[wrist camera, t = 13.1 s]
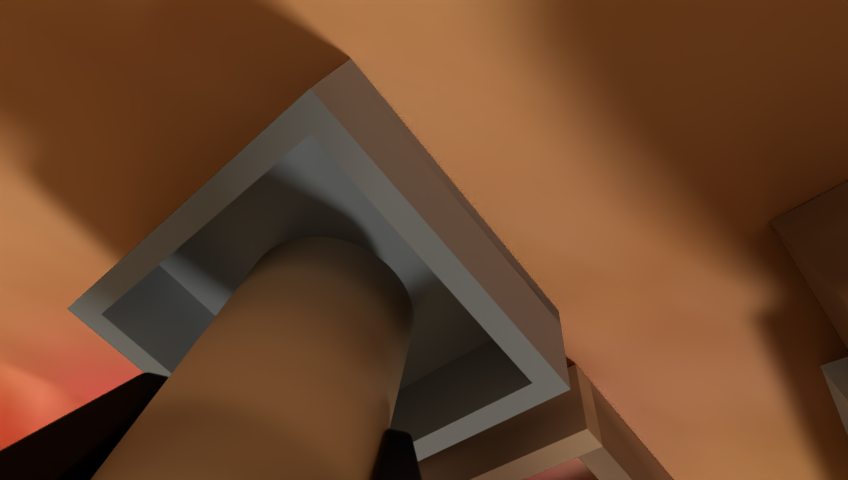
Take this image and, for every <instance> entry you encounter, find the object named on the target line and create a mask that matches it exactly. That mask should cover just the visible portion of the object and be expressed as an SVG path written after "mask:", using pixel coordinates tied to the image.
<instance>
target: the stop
mask: <svg viewBox="0 0 848 480" xmlns="http://www.w3.org/2000/svg"><path fill="white" fill-rule="evenodd" d="M770 224H771V226H772V227H773V229H774V230H775V232H776V234H777V235H778V237H779V239H780V240H781V242H782V244H783V245H784V247H785V248H786V250H787V252H788V253H789V255H790V257H791V258H792V260H793V261H794V263H795V265H796V266H797V268H798V270H799V271H800V273H801V275H802V276H803V278H804V279H805V281H806V283H807V284H808V286H809V288H810V289H811V291H812V292H813V294H814V296H815V297H816V299H817V301H818V302H819V304H820V306H821V307H822V309H823V310H824V312H825V314H826V315H827V317H828V319H829V320H830V322H831V324H832V325H833V327H834V328H835V330H836V332H837V333H838V335H839V337H840V338H841V340H842V341H843V343H844V345H845V346H846V348H847V350H848V181H847V182H845V183H843V184H841V185H839V186H837V187H835V188H833V189H831V190H829V191H828V192H826V193H824V194H822V195H820V196H818V197H816V198H814V199H812V200H810V201H808V202H807V203H805V204H803V205H801V206H799V207H797V208H795V209H793V210H791V211H789V212H787V213H786V214H784V215H782V216H780V217H778V218H776V219H774V220H772V221H770Z"/></svg>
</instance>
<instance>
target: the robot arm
mask: <svg viewBox="0 0 848 480" xmlns="http://www.w3.org/2000/svg"><path fill="white" fill-rule="evenodd" d="M168 378H169V377H168V376H164V375H160V374H155V373H151V372H146V373H142V374H140V375H138V376H136V377H135V378H133V379H131V380H129V381H127V382H125V383H124V384H122V385H120V386H118V387H116V388H114V389H113V390H111V391H109V392H107V393H105V394H103V395H102V396H100V397H98V398H96V399H94V400H92V401H91V402H89V403H87V404H85V405H83V406H81V407H79V408H78V409H76V410H74V411H72V412H70V413H68V414H67V415H65V416H63V417H61V418H59V419H57V420H56V421H54V422H52V423H50V424H48V425H46V426H45V427H43V428H41V429H39V430H37V431H35V432H34V433H32V434H30V435H28V436H26V437H24V438H23V439H21V440H19V441H17V442H15V443H13V444H11V445H10V446H8V447H6V448H4V449H2V450H0V480H91V478H92V477H93V476H94V474H95V473H96V472H97V470H98V469H99V468H100V466H101V465H102V464H103V463H104V461H105V460H106V459H107V457H108V456H109V455H110V453H111V452H112V451H113V449H114V448H115V447H116V446H117V444H118V443H119V442H120V440H121V439H122V438H123V436H124V435H125V434H126V433H127V431H128V430H129V429H130V427H131V426H132V425H133V423H134V422H135V421H136V419H137V418H138V417H139V416H140V414H141V413H142V412H143V410H144V409H145V408H146V406H147V405H148V404H149V402H150V401H151V400H152V399H153V397H154V396H155V395H156V393H157V392H158V391H159V389H160V388H161V387H162V386H163V384H164V383H165V382H166V380H167V379H168ZM373 480H422V476H421V472H420V468H419V464H418V460H417V455H416V451H415V447H414V443H413V439H412V436H411V434H410V433H408V432H405V431H400V430H396V429H392V428H389V429H387V430H386V431H385V434H384V438H383V442H382V446H381V450H380V454H379V458H378V462H377V466H376V470H375V474H374V478H373Z"/></svg>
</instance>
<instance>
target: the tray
mask: <svg viewBox="0 0 848 480" xmlns="http://www.w3.org/2000/svg"><path fill="white" fill-rule="evenodd" d="M309 236H324V237H331V238H337V239H341V240H345V241H348V242H351V243H353V244H356V245H359V246H360V247H362V248H364V249H366V250H368V251H370V252H372V253H373V254H375V255H376V256H378V257H379V258H380V259H382V260H383V261H384V262H385V263H386V264H388V265H389V266H390V268H391V269H392V270H393V271H394V272H395V273H396V274H397V275H398V277H399V278H400V279H401V281H402V282H403V284H404V286H405V288H406V289H407V291H408V294H409V296H410V299H411V302H412V307H413V314H414V323H413V331H412V335H411V339H410V343H409V348H408V352H407V356H406V360H405V365H404V369H403V373H402V378H401V382H400V386H399V390H398V395H397V399H396V403H395V407H394V412H393V416H392V420H391V425H390V428H392V429H396V430H400V431H405V432H408V433H410V434H411V436H412V439H413V443H414V447H415V451H416V455H417V460H418V461H420V460H422V459H424V458H426V457H429V456H431V455H433V454H435V453H437V452H439V451H441V450H443V449H445V448H448V447H450V446H452V445H454V444H456V443H458V442H460V441H462V440H465V439H467V438H469V437H471V436H473V435H475V434H477V433H479V432H481V431H484V430H486V429H488V428H490V427H492V426H494V425H496V424H498V423H501V422H503V421H505V420H507V419H509V418H511V417H513V416H515V415H517V414H520V413H522V412H524V411H526V410H528V409H530V408H532V407H534V406H536V405H539V404H541V403H543V402H545V401H547V400H549V399H551V398H553V397H556V396H558V395H560V394H562V393H564V392H566V391H568V390H570V389H571V388H570V382H569V375H568V369H567V362H566V356H565V350H564V343H563V337H562V330H561V324H560V317H559V311H558V310H557V309H556V307H555V306H554V305H553V304H552V303H551V301H550V300H549V299H548V298H547V297H546V295H545V294H544V293H543V292H542V290H541V289H540V288H539V287H538V286H537V284H536V283H535V282H534V281H533V280H532V278H531V277H530V276H529V275H528V273H527V272H526V271H525V270H524V269H523V267H522V266H521V265H520V264H519V262H518V261H517V260H516V259H515V258H514V256H513V255H512V254H511V253H510V252H509V250H508V249H507V248H506V247H505V245H504V244H503V243H502V242H501V241H500V239H499V238H498V237H497V236H496V234H495V233H494V232H493V231H492V230H491V228H490V227H489V226H488V225H487V224H486V222H485V221H484V220H483V219H482V217H481V216H480V215H479V214H478V213H477V211H476V210H475V209H474V208H473V207H472V205H471V204H470V203H469V202H468V200H467V199H466V198H465V197H464V196H463V194H462V193H461V192H460V191H459V189H458V188H457V187H456V186H455V185H454V183H453V182H452V181H451V180H450V179H449V177H448V176H447V175H446V174H445V172H444V171H443V170H442V169H441V168H440V166H439V165H438V164H437V163H436V162H435V160H434V159H433V158H432V157H431V155H430V154H429V153H428V152H427V151H426V149H425V148H424V147H423V146H422V144H421V143H420V142H419V141H418V140H417V138H416V137H415V136H414V135H413V134H412V132H411V131H410V130H409V129H408V127H407V126H406V125H405V124H404V123H403V121H402V120H401V119H400V118H399V117H398V115H397V114H396V113H395V112H394V110H393V109H392V108H391V107H390V106H389V104H388V103H387V102H386V101H385V99H384V98H383V97H382V96H381V95H380V93H379V92H378V91H377V90H376V89H375V87H374V86H373V85H372V84H371V82H370V81H369V80H368V79H367V78H366V76H365V75H364V74H363V73H362V72H361V70H360V69H359V68H358V67H357V65H356V64H355V63H354V62H353V61H352V59H349V60H348V61H347V62H345V63H344V64H342V65H341V66H340V67H338V68H337V69H336V70H334V71H333V72H331V73H330V74H329V75H327V76H326V77H325V78H323V79H322V80H320V81H319V82H318V83H316V84H315V85H314V86H312V87H311V88H310V89H308V90H307V91H306V92H305V93H304V94H303V95H302V96H301V97H300V98H299V99H297V100H296V101H295V102H294V103H293V104H292V105H291V106H290V107H289V108H288V109H286V110H285V111H284V112H283V113H282V114H281V115H280V116H279V117H278V118H277V119H275V120H274V121H273V122H272V123H271V124H270V125H269V126H268V127H267V128H266V129H264V130H263V131H262V132H261V133H260V134H259V135H258V136H257V137H256V138H255V139H253V140H252V141H251V142H250V143H249V144H248V145H247V146H246V147H245V148H244V149H242V150H241V151H240V152H239V153H238V154H237V155H236V156H235V157H234V158H233V159H231V160H230V161H229V162H228V163H227V164H226V165H225V166H224V167H223V168H222V169H220V170H219V171H218V172H217V173H216V174H215V175H214V176H213V177H212V178H211V179H209V180H208V181H207V182H206V183H205V184H204V185H203V186H202V187H201V188H200V189H198V190H197V191H196V192H195V193H194V194H193V195H192V196H191V197H190V198H189V199H187V200H186V201H185V202H184V203H183V204H182V205H181V206H180V207H179V208H178V209H176V210H175V211H174V212H173V213H172V214H171V215H170V216H169V217H168V218H167V219H165V220H164V221H163V222H162V223H161V224H160V225H159V226H158V227H157V228H156V229H154V230H153V231H152V232H151V233H150V234H149V235H148V236H147V237H146V238H145V239H143V240H142V241H141V242H140V243H139V244H138V245H137V246H136V247H135V248H134V249H132V250H131V251H130V252H129V253H128V254H127V255H126V256H125V257H124V258H123V259H121V260H120V261H119V262H118V263H117V264H116V265H115V266H114V267H113V268H112V269H110V270H109V271H108V272H107V273H106V274H105V275H104V276H103V277H102V278H101V279H99V280H98V281H97V282H96V283H95V284H94V285H93V286H92V287H91V288H90V289H88V290H87V291H86V292H85V293H84V294H83V295H82V296H81V297H80V298H79V299H77V300H76V301H75V302H74V303H73V304H72V305H71V306H70V307H69V308H68V310H69V311H70V312H72V313H73V314H74V315H75V316H77V317H78V318H79V319H80V320H81V321H83V322H84V323H85V324H86V325H87V326H89V327H90V328H91V329H92V330H93V331H95V332H96V333H97V334H98V335H99V336H101V337H102V338H103V339H104V340H106V341H107V342H108V343H109V344H110V345H112V346H113V347H114V348H115V349H116V350H118V351H119V352H120V353H121V354H122V355H124V356H125V357H126V358H127V359H128V360H130V361H131V362H132V363H133V364H135V365H136V366H137V367H138V368H139V369H141V370H142V371H143V372H144V373H146V372H151V373H155V374H160V375H164V376H168V377H169V376H170V375H171V374H172V372H173V371H174V370H175V369H176V367H177V366H178V365H179V363H180V362H181V361H182V359H183V358H184V357H185V355H186V354H187V353H188V352H189V350H190V349H191V348H192V346H193V345H194V344H195V342H196V341H197V340H198V339H199V337H200V336H201V335H202V333H203V332H204V331H205V329H206V328H207V327H208V325H209V324H210V323H211V322H212V320H213V319H214V318H215V316H216V315H217V314H218V312H219V311H220V310H221V308H222V307H223V306H224V305H225V303H226V302H227V301H228V299H229V298H230V297H231V295H232V294H233V293H234V292H235V290H236V289H237V288H238V286H239V285H240V284H241V282H242V281H243V280H244V278H245V277H246V276H247V275H248V273H249V272H250V271H251V269H252V268H253V267H254V265H255V264H256V263H257V262H258V260H259V259H260V258H261V257H262V256H263V255H264V254H265V253H266V252H268V251H269V250H270V249H271V248H273V247H275V246H277V245H279V244H280V243H283V242H286V241H288V240H291V239H296V238H300V237H309Z"/></svg>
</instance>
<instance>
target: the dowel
mask: <svg viewBox="0 0 848 480" xmlns="http://www.w3.org/2000/svg"><path fill="white" fill-rule="evenodd" d="M413 323H414V314H413V307H412V302H411V299H410V296H409V294H408V291H407V289H406V288H405V286H404V284H403V282H402V281H401V279H400V278H399V277H398V275H397V274H396V273H395V272H394V271H393V270H392V269H391V268H390V266H389V265H388V264H386V263H385V262H384V261H383V260H382V259H380V258H379V257H378V256H376V255H375V254H373V253H372V252H370V251H368V250H366V249H364V248H362V247H360V246H359V245H356V244H353V243H351V242H348V241H345V240H341V239H337V238H331V237H324V236H309V237H300V238H296V239H291V240H288V241H286V242H283V243H280V244H279V245H277V246H275V247H273V248H271V249H270V250H269V251H268V252H266V253H265V254H264V255H263V256H262V257H261V258H260V259H259V260H258V262H257V263H256V264H255V265H254V267H253V268H252V269H251V271H250V272H249V273H248V275H247V276H246V277H245V278H244V280H243V281H242V282H241V284H240V285H239V286H238V288H237V289H236V290H235V292H234V293H233V294H232V295H231V297H230V298H229V299H228V301H227V302H226V303H225V305H224V306H223V307H222V308H221V310H220V311H219V312H218V314H217V315H216V316H215V318H214V319H213V320H212V322H211V323H210V324H209V325H208V327H207V328H206V329H205V331H204V332H203V333H202V335H201V336H200V337H199V339H198V340H197V341H196V342H195V344H194V345H193V346H192V348H191V349H190V350H189V352H188V353H187V354H186V355H185V357H184V358H183V359H182V361H181V362H180V363H179V365H178V366H177V367H176V369H175V370H174V371H173V372H172V374H171V375H170V376H169V378H168V379H167V380H166V382H165V383H164V384H163V386H162V387H161V388H160V389H159V391H158V392H157V393H156V395H155V396H154V397H153V399H152V400H151V401H150V402H149V404H148V405H147V406H146V408H145V409H144V410H143V412H142V413H141V414H140V416H139V417H138V418H137V419H136V421H135V422H134V423H133V425H132V426H131V427H130V429H129V430H128V431H127V433H126V434H125V435H124V436H123V438H122V439H121V440H120V442H119V443H118V444H117V446H116V447H115V448H114V449H113V451H112V452H111V453H110V455H109V456H108V457H107V459H106V460H105V461H104V463H103V464H102V465H101V466H100V468H99V469H98V470H97V472H96V473H95V474H94V476H93V477H92V478H91V480H373V478H374V474H375V470H376V466H377V462H378V458H379V454H380V450H381V446H382V442H383V438H384V434H385V431H386V430H387V429H389V428H390V425H391V420H392V416H393V412H394V407H395V403H396V399H397V395H398V390H399V386H400V382H401V378H402V373H403V369H404V365H405V360H406V356H407V352H408V348H409V343H410V339H411V335H412V331H413Z"/></svg>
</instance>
